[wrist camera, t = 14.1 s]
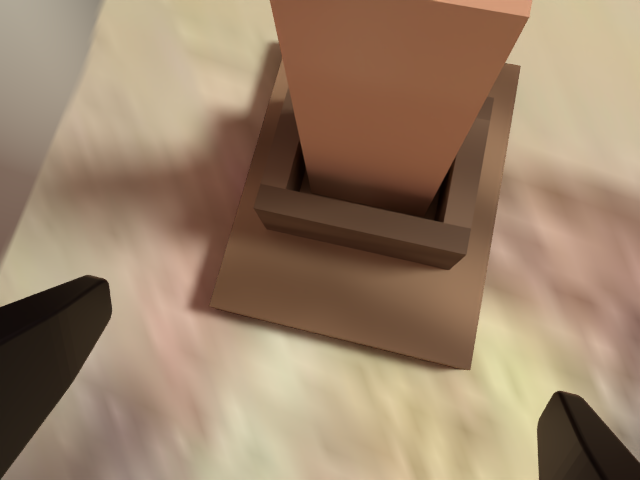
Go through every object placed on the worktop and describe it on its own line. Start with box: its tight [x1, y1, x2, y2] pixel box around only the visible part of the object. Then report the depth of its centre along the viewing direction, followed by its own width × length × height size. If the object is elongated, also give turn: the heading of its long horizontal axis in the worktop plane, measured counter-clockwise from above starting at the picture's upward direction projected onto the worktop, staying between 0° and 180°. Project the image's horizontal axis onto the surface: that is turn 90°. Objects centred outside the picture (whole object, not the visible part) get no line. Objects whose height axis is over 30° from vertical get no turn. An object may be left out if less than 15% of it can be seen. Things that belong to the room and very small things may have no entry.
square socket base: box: [209, 59, 521, 370], centre depth 20 cm, size 14×11×4 cm
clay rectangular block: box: [270, 0, 532, 217], centre depth 15 cm, size 2×5×12 cm, turn 76°
